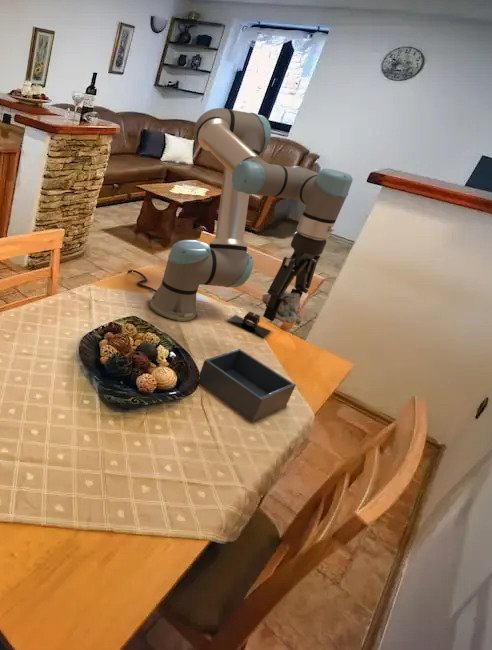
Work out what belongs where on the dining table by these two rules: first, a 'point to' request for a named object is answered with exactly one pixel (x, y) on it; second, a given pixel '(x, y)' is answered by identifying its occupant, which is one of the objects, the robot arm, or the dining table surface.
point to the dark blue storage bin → (246, 384)
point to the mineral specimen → (287, 307)
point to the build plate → (250, 324)
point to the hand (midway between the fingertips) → (278, 315)
